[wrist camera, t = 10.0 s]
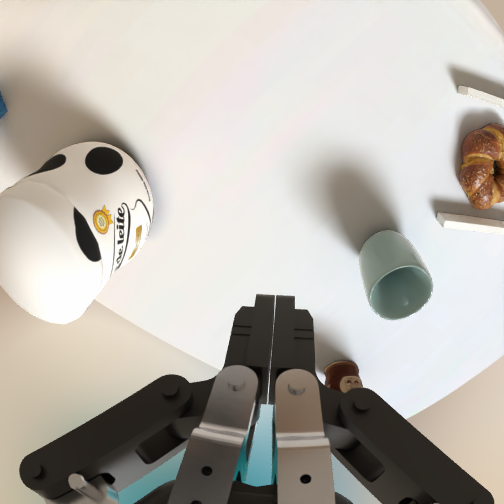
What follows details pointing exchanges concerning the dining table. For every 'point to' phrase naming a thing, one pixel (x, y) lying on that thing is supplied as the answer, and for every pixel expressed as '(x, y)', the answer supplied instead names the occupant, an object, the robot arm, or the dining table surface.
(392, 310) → the cup
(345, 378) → the coffee cup
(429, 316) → the dining table surface
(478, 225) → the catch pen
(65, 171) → the milk container
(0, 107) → the perfume bottle
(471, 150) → the pretzel
